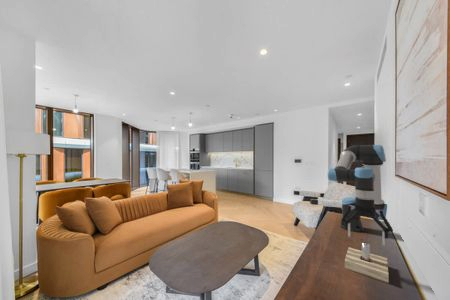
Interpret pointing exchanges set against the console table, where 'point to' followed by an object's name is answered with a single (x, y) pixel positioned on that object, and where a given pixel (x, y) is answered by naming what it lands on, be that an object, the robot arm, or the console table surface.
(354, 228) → the robot arm
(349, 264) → the bore block
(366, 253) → the pin
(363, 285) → the console table surface
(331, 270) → the console table surface
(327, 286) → the console table surface
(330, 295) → the console table surface
